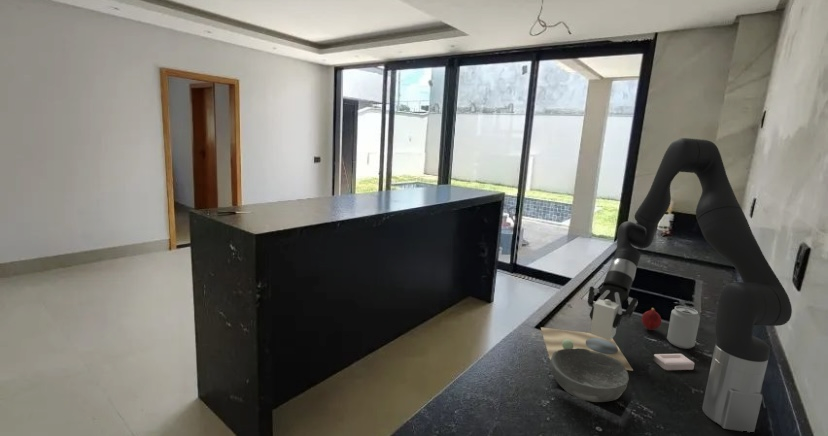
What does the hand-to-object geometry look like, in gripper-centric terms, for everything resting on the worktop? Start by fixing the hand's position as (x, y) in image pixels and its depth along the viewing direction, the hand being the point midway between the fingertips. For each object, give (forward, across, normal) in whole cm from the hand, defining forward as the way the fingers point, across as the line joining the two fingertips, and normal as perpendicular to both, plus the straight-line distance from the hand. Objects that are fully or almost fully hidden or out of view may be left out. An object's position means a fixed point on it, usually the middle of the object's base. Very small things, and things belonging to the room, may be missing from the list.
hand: (603, 323), depth 115 cm
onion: (-13, +8, +28) cm, 32 cm away
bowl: (+23, +4, -10) cm, 26 cm away
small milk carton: (+2, 0, +4) cm, 5 cm away
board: (+9, -4, +4) cm, 11 cm away
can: (-11, +17, +25) cm, 32 cm away
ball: (+12, -7, 0) cm, 14 cm away
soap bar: (+1, +18, +14) cm, 22 cm away
